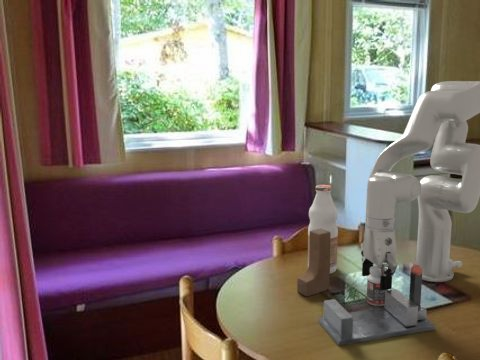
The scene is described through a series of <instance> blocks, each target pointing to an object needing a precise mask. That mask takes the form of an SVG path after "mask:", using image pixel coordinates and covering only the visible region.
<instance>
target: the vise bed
mask: <svg viewBox="0 0 480 360" xmlns="http://www.w3.org/2000/svg"><path fill="white" fill-rule="evenodd" d="M317 321H318V323H319V324H320V326H321V327H322V328H323V329H324V330H325V331H326V333H327V334H328V335H329V336H330V337H331V339H332V340H333V341H334V342H335V343H336V345H338V347H340V346H345V345H346V346H347V345H352V344H357V343H358V344H359V343H362V342H370V341H375V340H381V339H389V338H393V337H398V336H405V335H411V334H416V333H418V334H419V333H422V332H429V331H435V330H436V325H435V324H434V323H433V322H432V321H431V320H429V318H427V317H426V319H421V320H417V325H413V326H407V327H406V326H405V325H404V324H403V323H401V322H400V321H399V320H398V319H397V318H396V317H394V316H393V315H392V314H391V313H390V312H389V311H387V310H386V309H385V306H384V307H383V306H382V307H379V308H370V309H365V310H358V311H352V312H348V311H347V309H345V307H343V305H341V304H340V302H338V301H337V300H336V299H333V298H332V299H326V300H323V316H319V317H318V320H317Z"/></svg>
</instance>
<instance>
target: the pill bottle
mask: <svg viewBox="0 0 480 360" xmlns="http://www.w3.org/2000/svg"><path fill="white" fill-rule="evenodd" d="M384 268H385V271H386V270H387V269H388V267H384ZM381 275H382V272H381V269H380V267H379V266H377V265H373V266H372V267H370V275H368V276H367V279H366V280H367V281H366V282H367V283H366V302H367V303H368V304H369V305H371V306H375V307H383V306H384V307H385V291H388V290H389V289H388V290H381V289H380V277H381Z"/></svg>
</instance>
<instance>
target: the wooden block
mask: <svg viewBox="0 0 480 360" xmlns="http://www.w3.org/2000/svg"><path fill="white" fill-rule="evenodd" d="M330 238H331V233H330V232H329V231H326V230H324V229H321V228H320V229H316V230H312V231H310V244H309V266H308V265H307V270H306V271H305V272H304V274H302V275H300V276H298V277H297V281H296V282H297V284H296V285H297V292H298V293H299V294H301V295H303V296H304V297H310V296H313V295H316V294H319V293H322V292H325V291H328V290H330V283H331V281H330V280H331V279H330V278H331V276H330V275H331V274H330ZM327 289H328V290H327ZM324 290H325V291H324Z"/></svg>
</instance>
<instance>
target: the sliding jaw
mask: <svg viewBox="0 0 480 360" xmlns="http://www.w3.org/2000/svg"><path fill="white" fill-rule="evenodd" d="M410 271H411V272H410V276H409V277H410V278H409V293H408V295H409V296H408V297H409V298H408V297H407V296H405V295H404V294H403V293H402V292H400V291H398V290H397V289H388V291H385V305H384V307H385V309H386V310H387V311H389V312H390V313H391V314H392V315H393V316H394V317H396V318H397V319H398V320H399V321H400V322H401V323H403V324H404V325H405V326H406V327H407V326H413V325H417V320H421V319H426V318H427V313H428V311H427V309H426V308H425V307H424V306H422V305H421V300H422V285H423V280H422V271H423V270H422V267H421V266H420V265H416V264H414V265H412V266H411V267H410Z"/></svg>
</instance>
